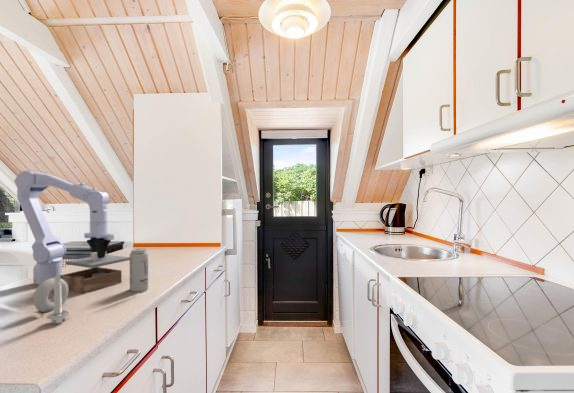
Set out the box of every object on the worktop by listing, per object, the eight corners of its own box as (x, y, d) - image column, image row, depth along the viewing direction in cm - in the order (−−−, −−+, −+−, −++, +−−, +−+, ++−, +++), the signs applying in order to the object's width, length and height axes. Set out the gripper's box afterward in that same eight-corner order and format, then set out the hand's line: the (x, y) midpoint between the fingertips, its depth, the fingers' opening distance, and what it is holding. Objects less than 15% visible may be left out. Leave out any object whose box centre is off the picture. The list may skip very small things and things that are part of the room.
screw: (44, 327, 80) (49, 320, 85) (66, 324, 82) (70, 317, 87) (43, 277, 80) (49, 273, 85) (65, 275, 82) (70, 271, 87)
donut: (40, 318, 86) (39, 283, 86) (30, 317, 87) (29, 282, 87) (71, 305, 96) (71, 274, 96) (62, 305, 97) (62, 273, 96)
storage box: (59, 290, 111) (59, 275, 111) (97, 280, 124) (97, 267, 124) (84, 295, 105) (84, 279, 105) (121, 284, 118) (121, 270, 118)
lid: (65, 264, 115) (65, 254, 115) (104, 256, 128) (104, 247, 128) (92, 268, 108) (91, 257, 108) (129, 259, 122) (129, 250, 122)
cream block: (91, 283, 117) (91, 274, 117) (102, 281, 120) (101, 272, 120) (98, 285, 115) (98, 275, 115) (108, 282, 119) (108, 273, 119)
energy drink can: (144, 293, 107) (144, 251, 107) (126, 294, 107) (126, 251, 107) (151, 288, 113) (150, 247, 113) (134, 288, 113) (133, 248, 113)
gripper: (76, 222, 118) (76, 257, 118) (101, 224, 112) (101, 261, 112) (94, 221, 124) (94, 254, 124) (118, 222, 118) (119, 257, 118)
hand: (99, 257), depth 118 cm, fingers closed on lid, 2 cm apart
